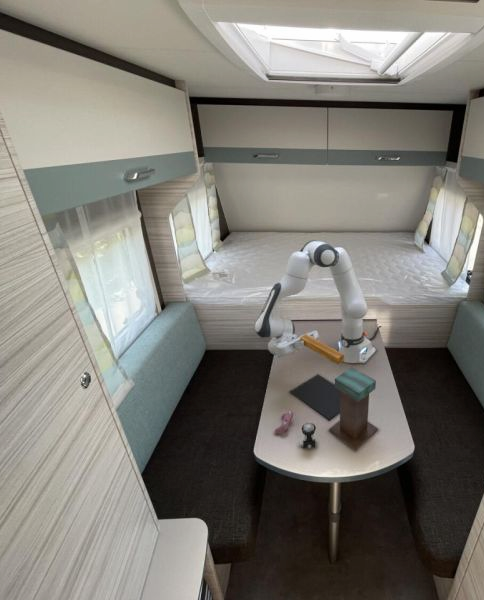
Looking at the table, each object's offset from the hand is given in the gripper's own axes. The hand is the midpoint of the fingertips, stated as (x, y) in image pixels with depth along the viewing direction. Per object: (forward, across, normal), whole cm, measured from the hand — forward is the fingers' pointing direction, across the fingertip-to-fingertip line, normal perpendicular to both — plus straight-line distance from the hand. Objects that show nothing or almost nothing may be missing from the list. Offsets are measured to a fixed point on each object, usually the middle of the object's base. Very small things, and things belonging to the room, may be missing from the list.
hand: (308, 340), depth 137 cm
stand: (+7, 0, -41) cm, 41 cm away
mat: (-14, -6, -29) cm, 33 cm away
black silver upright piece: (0, +18, -37) cm, 41 cm away
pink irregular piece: (-12, +18, -30) cm, 37 cm away
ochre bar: (+6, 0, -6) cm, 8 cm away
